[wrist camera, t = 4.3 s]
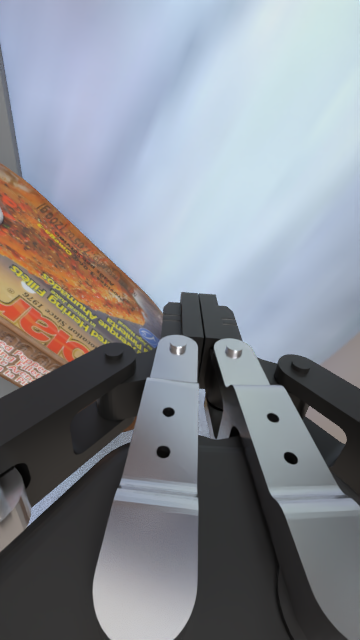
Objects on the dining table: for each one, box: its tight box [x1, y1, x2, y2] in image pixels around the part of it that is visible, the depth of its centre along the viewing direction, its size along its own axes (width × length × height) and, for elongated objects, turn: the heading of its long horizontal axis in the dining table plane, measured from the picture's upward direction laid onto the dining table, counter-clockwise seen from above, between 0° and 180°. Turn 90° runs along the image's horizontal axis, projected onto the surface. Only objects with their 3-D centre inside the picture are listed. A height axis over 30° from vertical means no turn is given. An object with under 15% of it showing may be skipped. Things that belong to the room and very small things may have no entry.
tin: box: [0, 163, 163, 432], centre depth 13 cm, size 15×3×8 cm, turn 41°
